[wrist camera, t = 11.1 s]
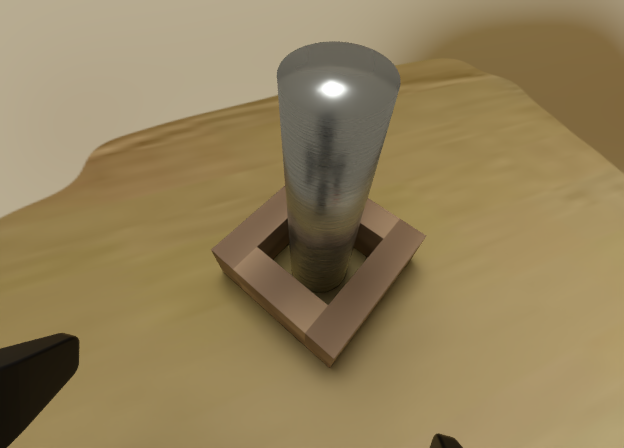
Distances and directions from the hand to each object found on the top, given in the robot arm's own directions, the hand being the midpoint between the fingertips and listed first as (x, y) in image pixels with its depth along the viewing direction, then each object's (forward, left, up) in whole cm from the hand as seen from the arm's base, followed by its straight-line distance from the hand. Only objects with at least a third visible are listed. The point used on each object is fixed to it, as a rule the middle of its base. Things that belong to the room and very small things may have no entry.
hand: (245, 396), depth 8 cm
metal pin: (+3, -7, -10) cm, 13 cm away
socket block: (+3, -7, -10) cm, 13 cm away
